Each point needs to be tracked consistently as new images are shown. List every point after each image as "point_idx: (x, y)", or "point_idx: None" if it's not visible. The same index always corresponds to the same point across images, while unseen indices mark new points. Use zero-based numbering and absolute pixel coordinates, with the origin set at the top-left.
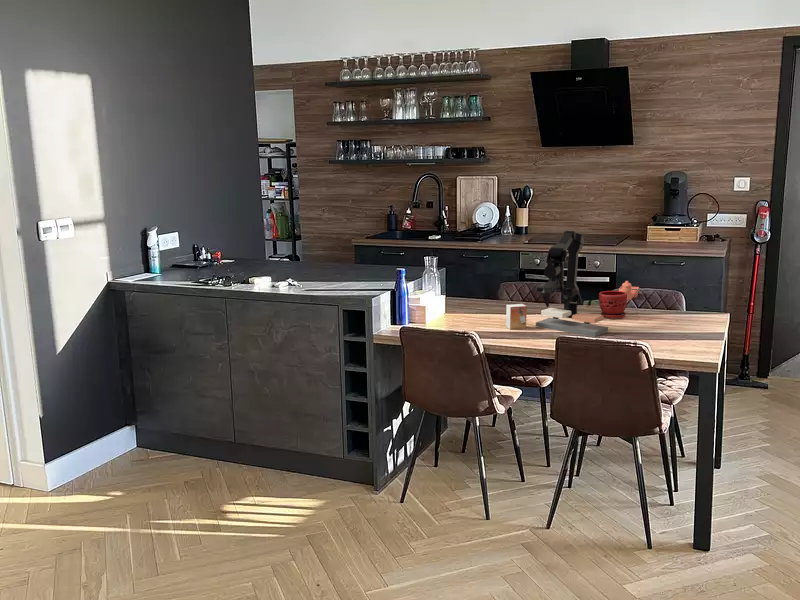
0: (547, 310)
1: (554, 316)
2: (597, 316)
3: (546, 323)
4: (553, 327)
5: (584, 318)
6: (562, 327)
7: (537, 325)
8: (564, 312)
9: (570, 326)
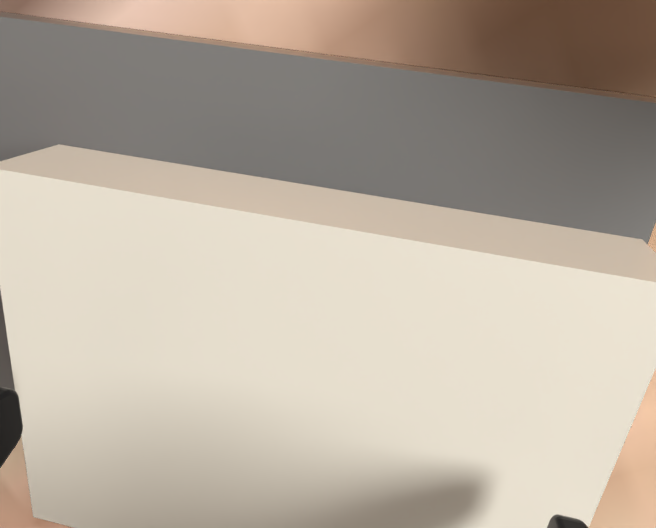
0: (503, 377)
1: (246, 177)
2: None
3: (447, 125)
4: (280, 51)
5: None
6: (92, 28)
7: (632, 96)
8: (38, 332)
9: (5, 123)
